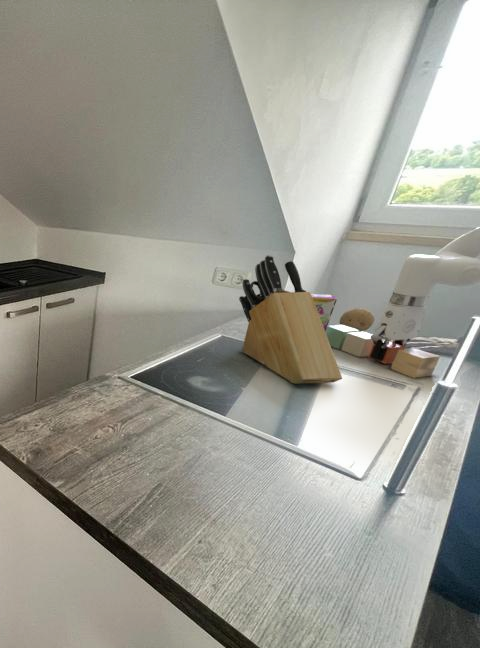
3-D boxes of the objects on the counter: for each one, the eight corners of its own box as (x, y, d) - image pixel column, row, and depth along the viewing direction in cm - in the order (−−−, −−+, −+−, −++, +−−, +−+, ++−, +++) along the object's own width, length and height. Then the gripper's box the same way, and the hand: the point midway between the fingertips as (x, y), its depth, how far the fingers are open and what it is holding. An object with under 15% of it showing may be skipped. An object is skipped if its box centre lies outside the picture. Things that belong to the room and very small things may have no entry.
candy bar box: (283, 342, 134) (296, 296, 128) (279, 337, 139) (292, 292, 132) (322, 345, 131) (338, 298, 124) (316, 340, 135) (331, 294, 129)
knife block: (256, 341, 136) (280, 251, 124) (340, 388, 104) (383, 272, 91) (224, 342, 136) (245, 252, 123) (298, 389, 104) (336, 274, 91)
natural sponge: (360, 341, 133) (371, 313, 129) (330, 334, 140) (339, 307, 136) (372, 336, 137) (382, 309, 133) (341, 329, 145) (350, 303, 140)
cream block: (356, 348, 128) (362, 331, 126) (375, 355, 123) (382, 337, 120) (341, 350, 127) (347, 332, 125) (359, 357, 122) (366, 339, 119)
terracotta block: (381, 355, 120) (387, 340, 118) (399, 362, 116) (405, 346, 114) (367, 357, 120) (373, 342, 118) (385, 363, 115) (391, 348, 113)
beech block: (407, 367, 114) (415, 348, 112) (431, 375, 109) (440, 356, 107) (390, 369, 114) (398, 350, 111) (413, 377, 108) (422, 358, 106)
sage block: (336, 340, 134) (342, 324, 132) (353, 347, 129) (359, 330, 126) (321, 342, 133) (326, 325, 131) (338, 348, 128) (344, 331, 126)
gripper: (397, 305, 106) (373, 366, 113) (448, 301, 108) (421, 360, 116) (369, 298, 112) (347, 356, 120) (417, 294, 115) (393, 351, 122)
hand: (384, 357), depth 118 cm, fingers closed on terracotta block, 5 cm apart
